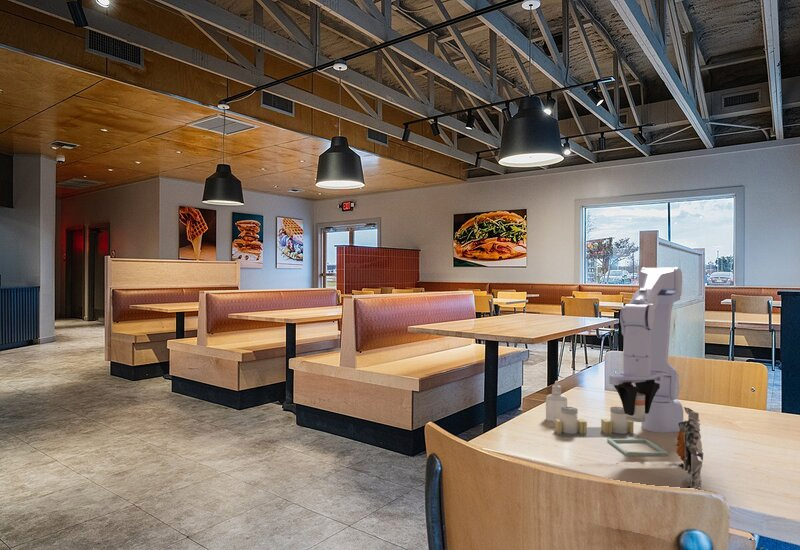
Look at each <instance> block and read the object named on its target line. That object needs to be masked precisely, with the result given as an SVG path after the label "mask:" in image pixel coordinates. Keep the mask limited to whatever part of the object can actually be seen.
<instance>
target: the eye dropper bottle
mask: <svg viewBox="0 0 800 550" xmlns="http://www.w3.org/2000/svg"><path fill="white" fill-rule="evenodd" d="M561 407H568V399H567V396H566V395H564V394H562V386H561V385H559V381H558V380H555V381H554V384H553V385H552V386H551V393H550V394H547V395H546V397H545V420H546V421H548V422H555V419H559V420H560V421H561Z"/></svg>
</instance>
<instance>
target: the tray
mask: <svg viewBox="0 0 800 550" xmlns="http://www.w3.org/2000/svg"><path fill="white" fill-rule="evenodd" d="M606 442H607V443H608V444H610V445H611V446H612V447H614V448H615V449H616V450H618V451H619V452H620V453H622V454H623V455H624V456H625V457H651V456H652V457H653V456H655V457H657V456H659V457H663V456H664V457H665V456H669V452H668V451H667V450H665V449H663V448H662V447H660V446H658V445H657V444H655V443H654V442H652V441H650V440H649V439H647V438H607V439H606ZM618 443H619V444H620V443H621V444H622V443H623V444H624V443H625V444H626V443H639V444H642V443H645V444H646V445H648V446H650V447H651V448H652V449H654V450H655V451H628V450H627V449H625V448H624V447H623V446H621V445H619V444H618Z"/></svg>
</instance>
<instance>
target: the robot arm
mask: <svg viewBox="0 0 800 550" xmlns="http://www.w3.org/2000/svg"><path fill="white" fill-rule="evenodd" d="M637 280H638V287H639V289H637V290H636V291H635V292H634V293H633V295H632V297H631V298H630V301H629V303H626V304H625V305H622V306H621V308H620V313H619V321H620V326H621V335H622V336H623V358H622V359H623V368H622V369H623V370H621V372H620V373H616V374H612V375H609V376H608V377H609V378H608V379H609V380H608V381H609V385H613V387H614V389H615V390H616V392H617V393H618V396H619V398H620V400H621V405H622V407H623V408H624V412H625V414H628V415H631V416H632V415H634V410H635V399H636V395H637V392H639V393H643V394H645V421H644V422H640V423H641V428H642V429H644V430H646V431H647V432H648V431H649V432H653V433H661V434H664V433H666V434H667V433H679V431H680V428H679V425H678V423H679V422H684V406H683V405H682V403H681V402H680V401H679V400H678V398H679V396H680V395H679V393H680V380H679V379H680V378H679V376H680V374H679V372H678V370H677V369H676V368H675V367H673V366H672V365H671V364H670V363H669V362H668V361H669V347H670V337H671V336H670V333H671V323H672V322H671V321H672V311H673V306H674V303H676V302H678V301H680V300H681V296H682V291H683V271H682V269H681V268H680V267H679V266H677V267H644V266H643V267H641V269H640V270H639V271H638V279H637Z"/></svg>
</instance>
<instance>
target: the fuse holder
mask: <svg viewBox="0 0 800 550" xmlns="http://www.w3.org/2000/svg"><path fill="white" fill-rule="evenodd" d="M600 420H601V421H600V425H601V426H599V427H598V426H597V427H595V426H594V427H593V426H592V427H591V426H590V427H589V426H588V422H587V420H585V419H584V418H577V430H578V433H577V434H575V435H569V434H564V433H562V422H561V421H560V420H559V419H555V421H554V425H555V426H553V427H550V429H551V430H552V431H553V432H554V433H556V434H557V436H559V437H560V438H640V437H641V436H640V435H637V433H635V432H634V424H635V422H634V421H629V420H627V429H628V433H627V434H615V433H612V421H611V419H610V420H609V418H601V419H600Z"/></svg>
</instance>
